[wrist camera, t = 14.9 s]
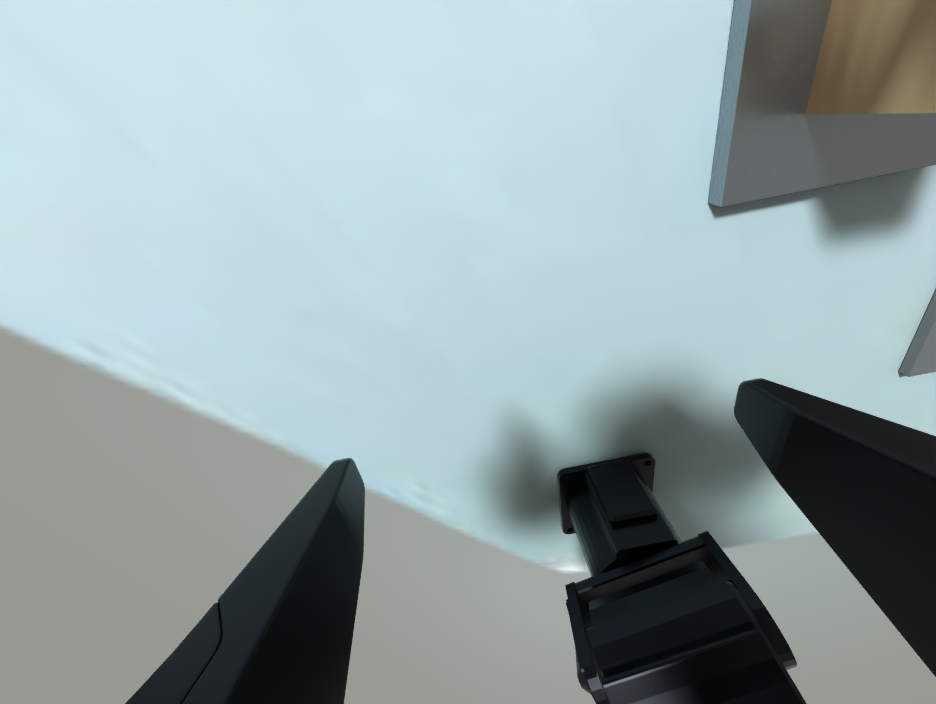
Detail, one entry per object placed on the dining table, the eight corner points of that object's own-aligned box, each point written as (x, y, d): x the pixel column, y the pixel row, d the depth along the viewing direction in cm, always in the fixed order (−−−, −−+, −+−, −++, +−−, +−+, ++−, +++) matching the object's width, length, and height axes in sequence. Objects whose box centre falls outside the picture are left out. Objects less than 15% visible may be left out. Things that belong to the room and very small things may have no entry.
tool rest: (917, 161, 19) (941, 163, 18) (708, 202, 19) (721, 207, 18) (1033, -154, 14) (1074, -173, 13) (746, -96, 14) (767, -110, 13)
